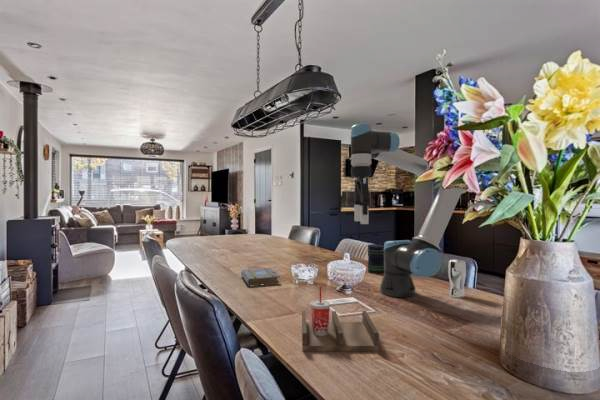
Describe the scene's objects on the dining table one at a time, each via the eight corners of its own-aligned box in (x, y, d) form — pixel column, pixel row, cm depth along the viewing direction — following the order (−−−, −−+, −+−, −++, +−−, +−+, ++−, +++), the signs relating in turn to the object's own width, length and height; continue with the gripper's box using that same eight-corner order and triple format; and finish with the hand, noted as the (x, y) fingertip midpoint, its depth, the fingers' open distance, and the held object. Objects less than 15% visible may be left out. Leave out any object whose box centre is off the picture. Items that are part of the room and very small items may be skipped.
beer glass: (461, 299, 141) (461, 262, 141) (445, 295, 147) (445, 260, 146) (468, 295, 146) (469, 260, 146) (452, 292, 151) (452, 258, 151)
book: (241, 277, 182) (240, 268, 182) (271, 275, 187) (271, 266, 187) (247, 287, 162) (247, 277, 162) (280, 284, 167) (280, 274, 167)
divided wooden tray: (366, 326, 112) (366, 311, 112) (378, 351, 94) (378, 333, 94) (302, 326, 112) (301, 311, 112) (302, 351, 94) (302, 333, 94)
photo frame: (353, 296, 143) (375, 310, 126) (353, 299, 143) (375, 313, 126) (320, 300, 138) (339, 314, 121) (320, 302, 138) (339, 317, 121)
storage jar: (375, 269, 199) (375, 243, 199) (389, 272, 192) (389, 245, 191) (364, 271, 193) (363, 245, 193) (378, 274, 185) (378, 247, 185)
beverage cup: (334, 334, 102) (334, 287, 102) (317, 338, 99) (317, 290, 99) (323, 327, 107) (323, 282, 107) (306, 331, 104) (306, 285, 104)
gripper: (346, 168, 141) (346, 220, 141) (356, 162, 116) (356, 225, 116) (364, 168, 141) (364, 220, 141) (378, 162, 116) (378, 225, 116)
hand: (361, 222), depth 129 cm, fingers open, 13 cm apart
